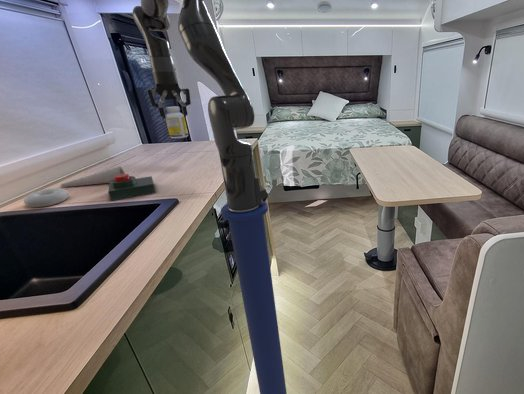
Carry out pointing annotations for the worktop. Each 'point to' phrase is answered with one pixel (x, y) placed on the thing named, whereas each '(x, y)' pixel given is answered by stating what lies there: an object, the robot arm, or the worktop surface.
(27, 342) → the worktop surface
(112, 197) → the control block
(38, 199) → the donut
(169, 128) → the pill bottle
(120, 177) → the button
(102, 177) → the long tapered cone
